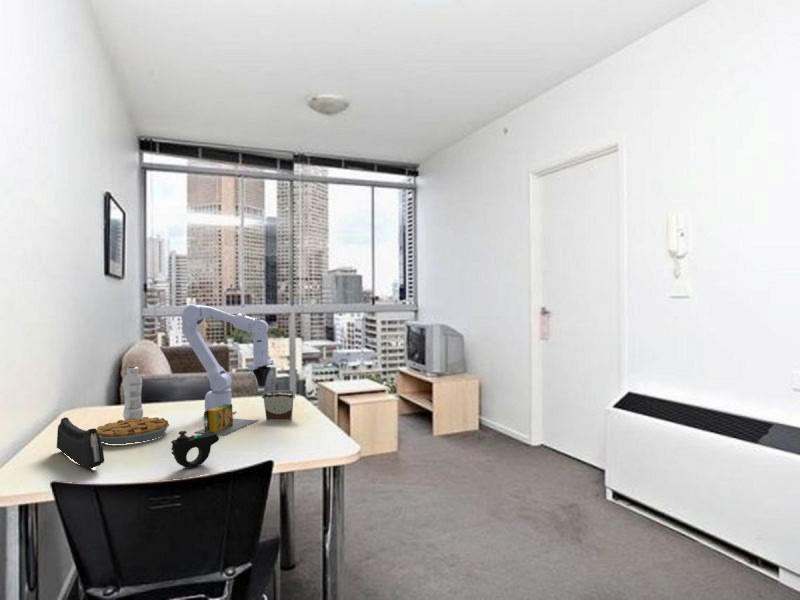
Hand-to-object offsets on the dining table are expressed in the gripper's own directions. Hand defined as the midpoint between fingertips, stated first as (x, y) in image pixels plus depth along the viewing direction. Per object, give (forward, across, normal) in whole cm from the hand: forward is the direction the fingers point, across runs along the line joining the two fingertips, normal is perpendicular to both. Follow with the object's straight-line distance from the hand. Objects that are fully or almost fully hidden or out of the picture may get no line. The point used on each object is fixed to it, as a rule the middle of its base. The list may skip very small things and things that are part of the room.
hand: (261, 386), depth 196 cm
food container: (+11, -6, -12) cm, 17 cm away
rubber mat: (+10, -22, 0) cm, 24 cm away
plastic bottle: (+10, -23, +40) cm, 47 cm away
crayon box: (+6, -20, 0) cm, 21 cm away
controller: (+11, -58, -17) cm, 61 cm away
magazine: (+10, -63, +18) cm, 67 cm away
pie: (+11, -40, +23) cm, 48 cm away
